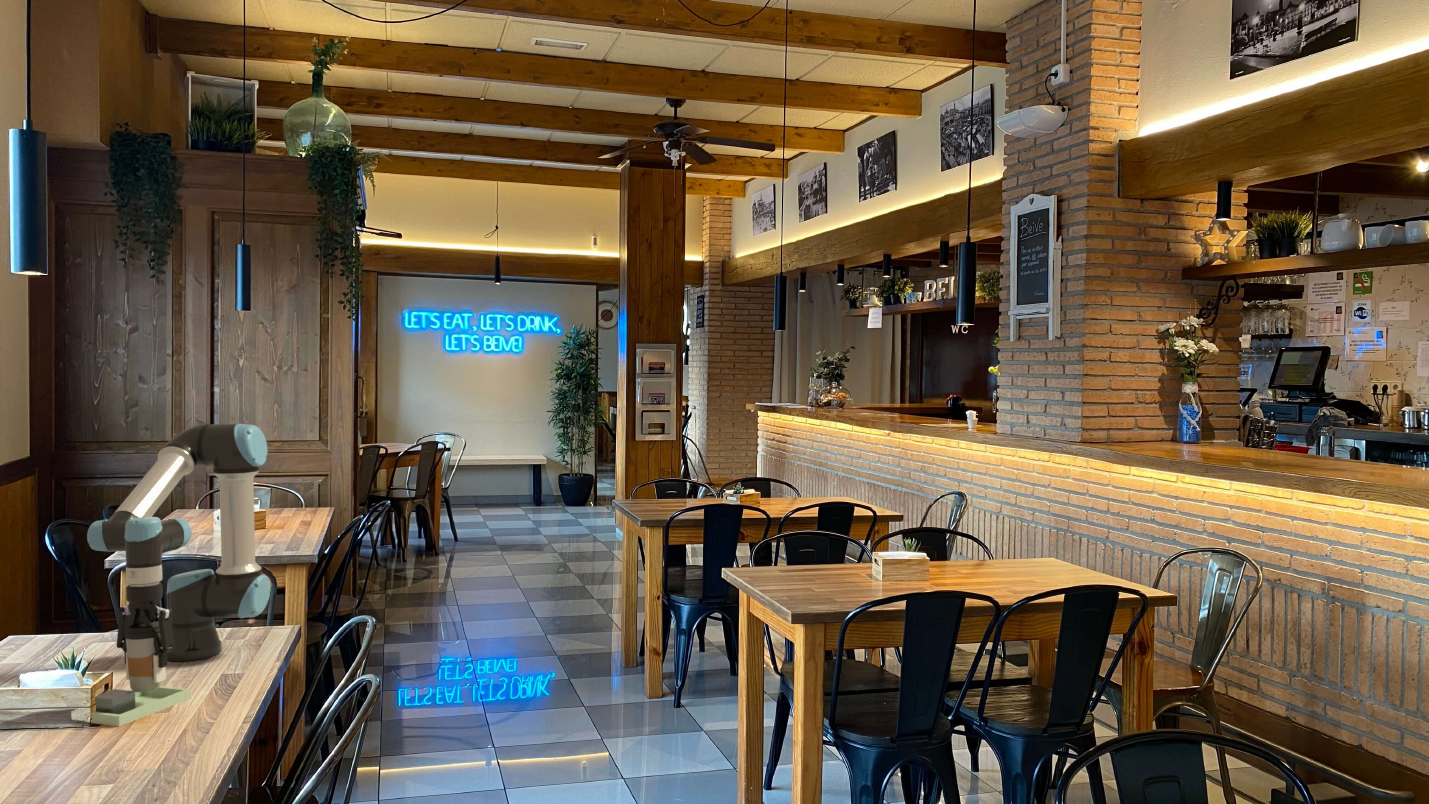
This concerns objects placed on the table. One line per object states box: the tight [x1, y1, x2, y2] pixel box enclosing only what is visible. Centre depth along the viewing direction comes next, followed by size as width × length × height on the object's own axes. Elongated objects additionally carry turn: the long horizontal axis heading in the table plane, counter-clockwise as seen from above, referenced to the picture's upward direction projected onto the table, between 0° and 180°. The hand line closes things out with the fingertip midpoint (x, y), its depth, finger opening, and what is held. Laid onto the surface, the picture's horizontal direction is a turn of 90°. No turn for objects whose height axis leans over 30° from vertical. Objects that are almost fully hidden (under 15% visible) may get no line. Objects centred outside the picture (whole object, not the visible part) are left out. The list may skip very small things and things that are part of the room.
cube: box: [95, 688, 135, 715], centre depth 231 cm, size 6×6×5 cm
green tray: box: [90, 685, 191, 728], centre depth 236 cm, size 20×14×3 cm
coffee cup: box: [125, 622, 162, 692], centre depth 240 cm, size 8×8×15 cm
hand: (146, 679), depth 240 cm, fingers closed on coffee cup, 7 cm apart
